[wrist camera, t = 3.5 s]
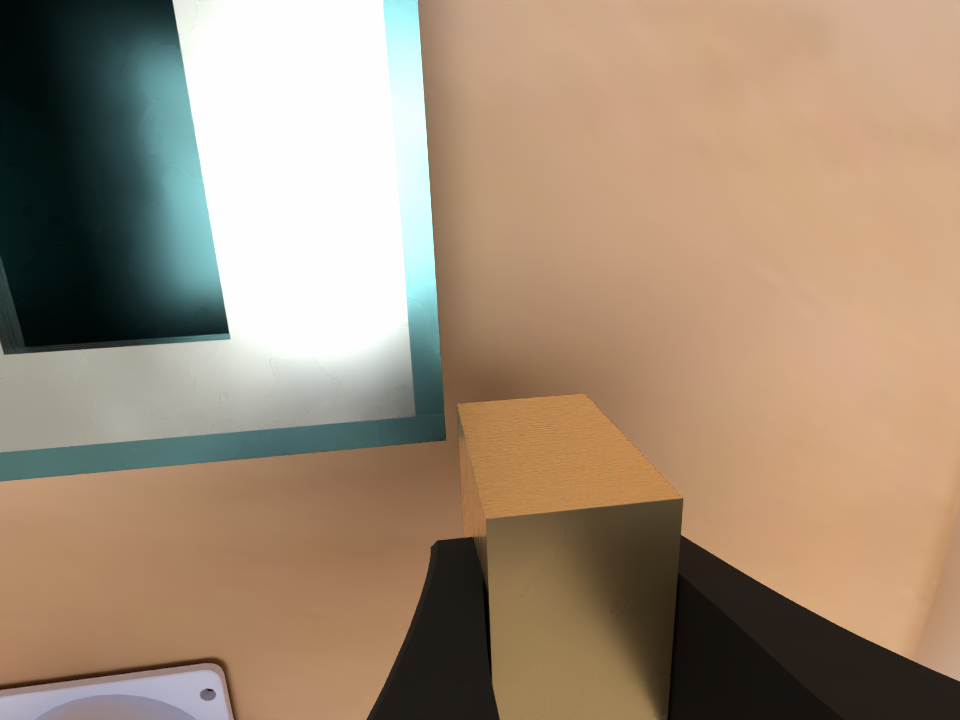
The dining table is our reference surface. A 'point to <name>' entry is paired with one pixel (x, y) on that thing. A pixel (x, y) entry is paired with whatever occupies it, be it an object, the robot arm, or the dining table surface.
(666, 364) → the dining table surface
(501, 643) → the block
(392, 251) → the box
